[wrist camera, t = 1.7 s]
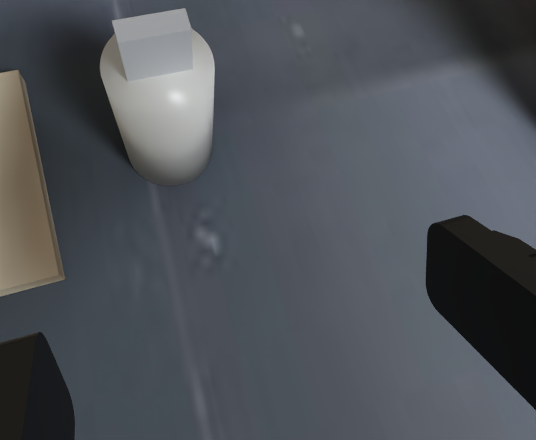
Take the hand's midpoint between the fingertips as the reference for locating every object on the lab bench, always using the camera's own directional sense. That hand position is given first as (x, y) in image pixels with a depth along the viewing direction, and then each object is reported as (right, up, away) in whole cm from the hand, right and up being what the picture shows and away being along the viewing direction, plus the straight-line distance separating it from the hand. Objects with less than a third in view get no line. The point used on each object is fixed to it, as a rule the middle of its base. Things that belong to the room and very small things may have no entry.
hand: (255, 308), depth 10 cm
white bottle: (-5, +6, +19) cm, 21 cm away
